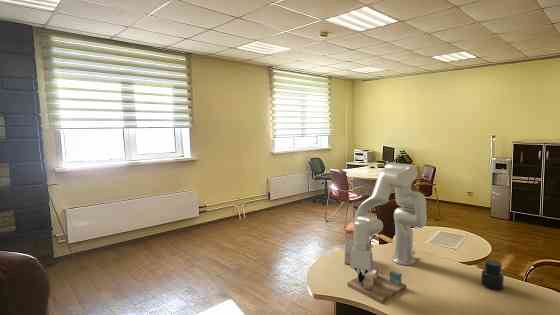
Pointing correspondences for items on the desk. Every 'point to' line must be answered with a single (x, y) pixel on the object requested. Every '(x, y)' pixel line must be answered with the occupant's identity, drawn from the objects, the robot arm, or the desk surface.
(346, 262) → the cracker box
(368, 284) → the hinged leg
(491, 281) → the ink bottle
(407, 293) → the desk surface
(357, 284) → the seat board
